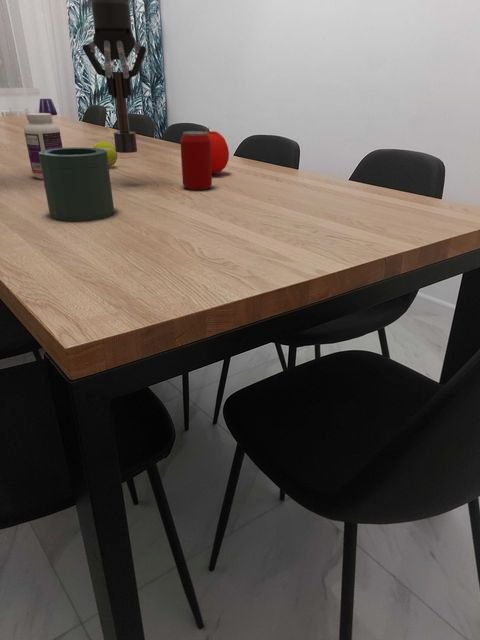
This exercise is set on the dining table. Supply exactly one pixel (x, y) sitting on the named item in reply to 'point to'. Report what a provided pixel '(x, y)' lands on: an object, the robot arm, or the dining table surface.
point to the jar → (77, 183)
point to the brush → (122, 119)
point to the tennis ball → (108, 152)
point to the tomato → (218, 151)
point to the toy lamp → (47, 107)
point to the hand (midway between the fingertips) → (120, 97)
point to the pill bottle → (40, 138)
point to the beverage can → (196, 160)
